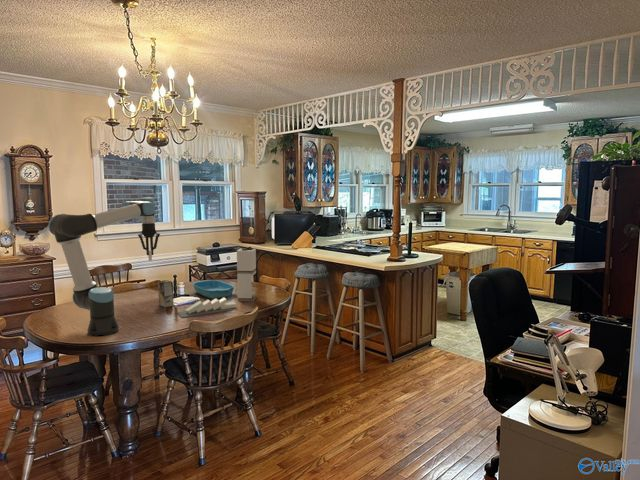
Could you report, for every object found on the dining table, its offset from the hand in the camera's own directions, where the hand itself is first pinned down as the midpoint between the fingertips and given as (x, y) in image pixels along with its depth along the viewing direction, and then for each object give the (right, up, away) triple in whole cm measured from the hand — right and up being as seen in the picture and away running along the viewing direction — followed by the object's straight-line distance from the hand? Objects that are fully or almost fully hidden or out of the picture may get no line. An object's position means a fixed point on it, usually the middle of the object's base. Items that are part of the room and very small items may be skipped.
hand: (150, 260), depth 264 cm
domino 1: (+24, -31, -4) cm, 40 cm away
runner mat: (+34, -32, +2) cm, 47 cm away
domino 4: (+38, -30, +4) cm, 49 cm away
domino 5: (+42, -30, +7) cm, 52 cm away
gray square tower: (+55, -29, +32) cm, 70 cm away
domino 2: (+29, -31, -1) cm, 42 cm away
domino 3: (+33, -31, +2) cm, 45 cm away
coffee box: (+4, -31, +17) cm, 35 cm away
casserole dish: (+28, -27, +48) cm, 61 cm away
